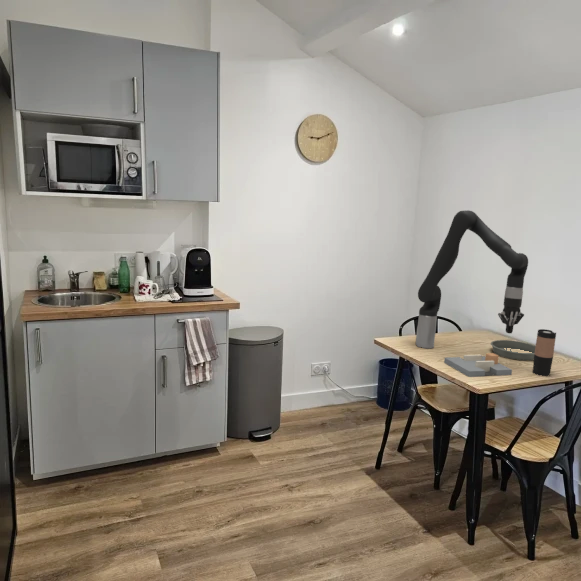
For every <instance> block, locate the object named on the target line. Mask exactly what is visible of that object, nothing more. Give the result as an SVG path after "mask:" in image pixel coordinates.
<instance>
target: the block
mask: <svg viewBox="0 0 581 581" xmlns="http://www.w3.org/2000/svg"><path fill="white" fill-rule="evenodd" d="M485 357H486V358H485V361H494V364H498V363H499V358H500V356H499V355H497V354H495V353H494V352H492V353H491V352H489V353H488V352H487V353H485Z"/></svg>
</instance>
